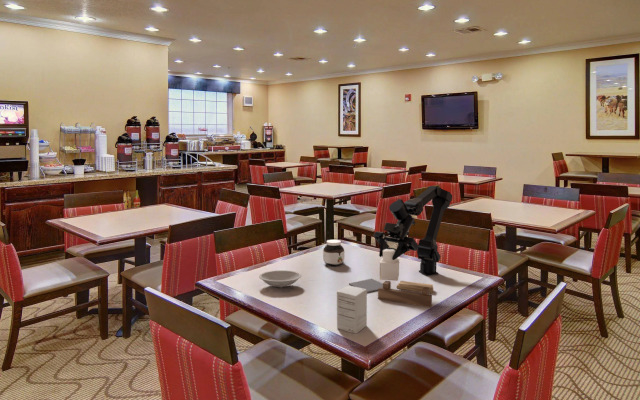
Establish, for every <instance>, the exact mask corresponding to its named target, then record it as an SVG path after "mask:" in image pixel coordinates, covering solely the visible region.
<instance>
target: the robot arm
mask: <svg viewBox="0 0 640 400" xmlns="http://www.w3.org/2000/svg"><path fill="white" fill-rule="evenodd" d="M452 200H453V194H451V192H450V191H448V190H446V189H443V188H441V187H440V186H435V185H429V186H428V187H427V188H426V189H425V190H424V191H422V192H421V193H420V194H419V195H418V196H417V197H414V198H411V199H408V200H406V201H403V199H401V198H397V200H395V201H393V202H392V203H391V204H390V205H388V210H389V211H390V213H391V214H392V216H393V217H394V219H396V220H397V221H396V223H392V222H384V223H385V225H384V227H383V231H386V232H387V235H386V234H385V232H383V231H378V230H377V231H374V233H373V235H372V236H373V238H374V239H375V241H376V242H377V243H378V244H379V245H380V246H379V254H378V256H379V257H380V258H382V250H383V249H385V248H390V246H389V244H388V242H389V243H395V244H397V247H396V248H395V249H396V251H395V253H394V255H393V257H392V259H393V260H395V259H396V258H397V259H399V257H401V256H402V255H404V254H405V253H407V252H410V251H414V252H416V254H417V259H418V260H420V265H419V266H420V267H419V270H418V272H419V273H421V274H423V275H425V276H431V275H432V276H433V275H439V272H438V271H437V263H439V261H440V260H441V255H440V254H441V253H439V251H438V248H439V247H438V243H437V238H438V233H439V230H440V227H441V223H442V219H443V216H444V213H445V211H446V210H447V209H448V208H449V207H450V205H451V203H452ZM430 202H431V204H432V207H433V208H432V212H431V215H430V219H429V222H428V226H427V228H426V233H425V236H424V237H423V238H420V239H419V241H418V242H417V241H416V239H415V238H414V237H411V236H409V235H410V233H409V231H410V230H411V227H412V225H416V221H415V218H414V217H413V216H415V217H418V216H420V215H421V214H422V213H423V211H424V207H425V206H426V205H427V204H428V203H430Z"/></svg>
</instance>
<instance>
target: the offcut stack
mask: <svg viewBox="0 0 640 400" xmlns="http://www.w3.org/2000/svg"><path fill="white" fill-rule="evenodd" d="M424 286H425V287H430V293H429V294H432V293H433V291H434V284H432V283H431V284H430V283H424V282H423V283H422V282H415V281H406V280H400V282H398V284H396V289H398V290H404V291H410V292H417V293H422V289H423V287H424Z"/></svg>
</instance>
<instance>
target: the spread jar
mask: <svg viewBox="0 0 640 400" xmlns="http://www.w3.org/2000/svg"><path fill="white" fill-rule="evenodd" d="M341 244H342V241H341V240H340V239H327V240H326V245H324V247H323V250H322V259H323V262H324V264H325V265H327V266H329V267H340V266H341V265H342V264H343V263H344V261H345V248H344V247H343V246H342V245H341Z"/></svg>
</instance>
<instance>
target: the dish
mask: <svg viewBox="0 0 640 400" xmlns="http://www.w3.org/2000/svg"><path fill="white" fill-rule="evenodd" d="M258 278H259V279H260V280H262V281H263V282H264V283H265V284H267V285H268V286H271V287H277V288H279V287H282V288H284V287H288V286H291V285H293V284H295V283H296V282H297V281H298V280H299V279H301V278H302V273H300V272H297V271H292V270H271V271H265V272H262V273H259V275H258Z"/></svg>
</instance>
